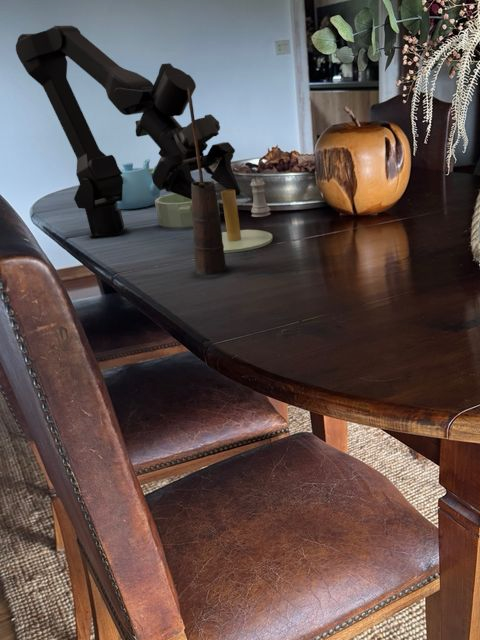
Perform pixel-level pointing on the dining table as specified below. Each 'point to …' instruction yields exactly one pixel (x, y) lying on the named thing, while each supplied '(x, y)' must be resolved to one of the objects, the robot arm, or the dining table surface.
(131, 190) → the teapot
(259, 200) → the rook chess piece
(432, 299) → the dining table surface
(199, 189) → the butter churn
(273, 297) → the dining table surface
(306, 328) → the dining table surface
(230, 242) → the lid
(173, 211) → the pan
